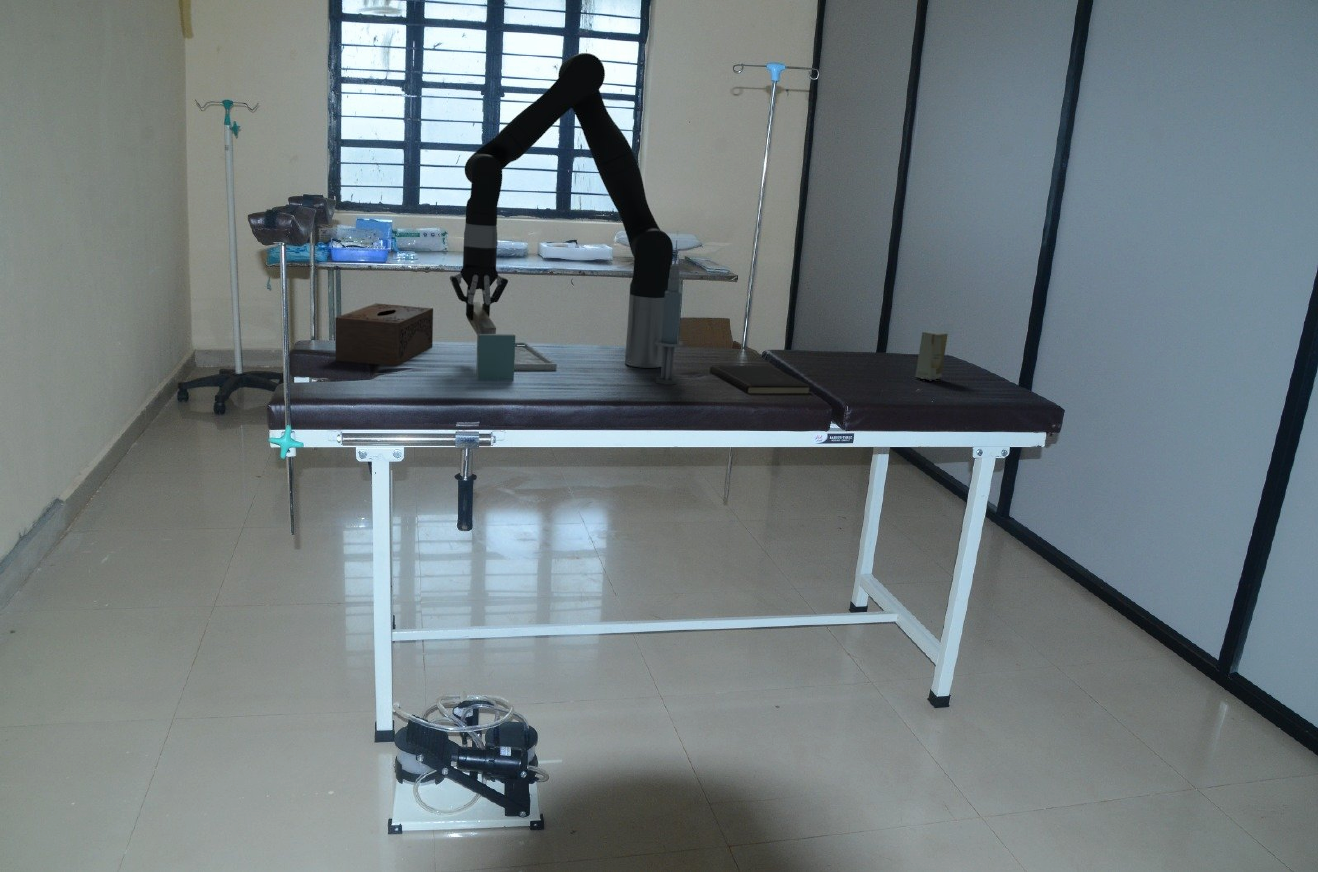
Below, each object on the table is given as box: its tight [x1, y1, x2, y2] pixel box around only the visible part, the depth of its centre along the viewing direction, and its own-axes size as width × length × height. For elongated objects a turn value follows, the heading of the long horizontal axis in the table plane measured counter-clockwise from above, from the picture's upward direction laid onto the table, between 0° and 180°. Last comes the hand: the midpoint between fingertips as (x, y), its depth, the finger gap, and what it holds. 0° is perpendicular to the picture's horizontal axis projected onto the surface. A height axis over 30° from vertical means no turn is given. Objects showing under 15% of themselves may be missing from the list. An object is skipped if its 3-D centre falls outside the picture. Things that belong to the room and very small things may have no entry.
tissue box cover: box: [334, 303, 434, 367], centre depth 242 cm, size 26×14×10 cm, turn 175°
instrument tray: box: [514, 341, 558, 372], centre depth 248 cm, size 12×28×2 cm, turn 22°
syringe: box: [655, 231, 684, 385], centre depth 230 cm, size 5×6×35 cm
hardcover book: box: [709, 364, 812, 395], centre depth 242 cm, size 16×23×2 cm
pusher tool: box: [466, 301, 497, 335], centre depth 234 cm, size 3×18×4 cm, turn 22°
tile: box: [475, 333, 516, 382], centre depth 223 cm, size 8×2×10 cm, turn 112°
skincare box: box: [915, 330, 949, 379], centre depth 261 cm, size 6×4×12 cm
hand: (477, 319), depth 237 cm, fingers closed on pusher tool, 2 cm apart
